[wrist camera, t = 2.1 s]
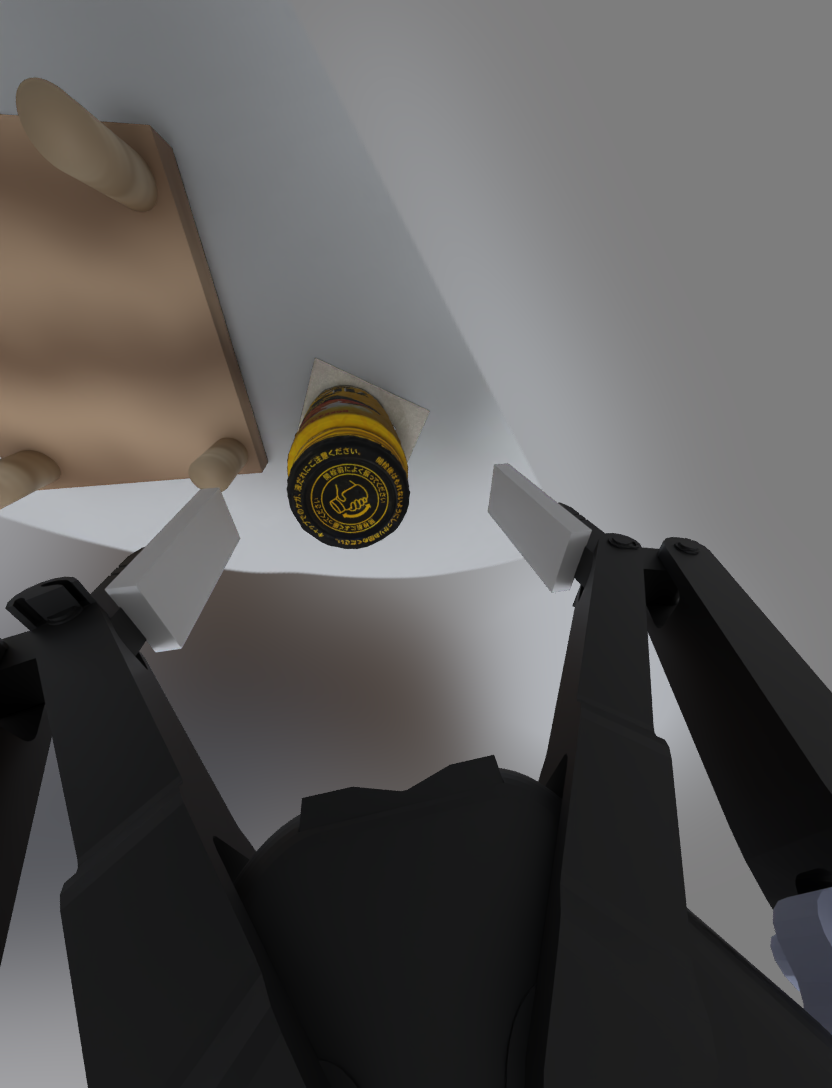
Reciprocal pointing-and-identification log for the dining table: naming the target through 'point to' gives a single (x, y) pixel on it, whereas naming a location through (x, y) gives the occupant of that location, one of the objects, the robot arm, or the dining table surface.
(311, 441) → the condiment
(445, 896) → the robot arm
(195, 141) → the dining table surface
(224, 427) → the peg holder
